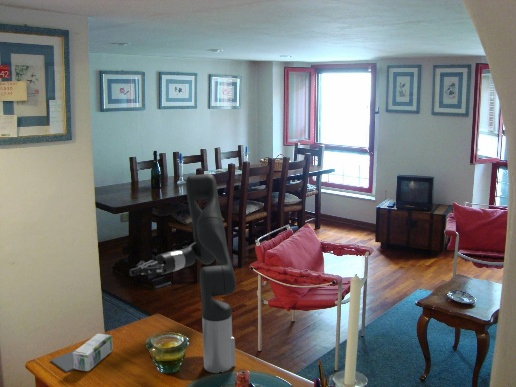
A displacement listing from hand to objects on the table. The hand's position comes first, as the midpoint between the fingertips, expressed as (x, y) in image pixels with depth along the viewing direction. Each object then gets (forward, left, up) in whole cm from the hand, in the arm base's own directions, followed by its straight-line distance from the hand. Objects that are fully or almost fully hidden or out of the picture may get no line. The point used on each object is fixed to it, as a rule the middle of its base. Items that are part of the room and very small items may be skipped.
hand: (130, 273), depth 187 cm
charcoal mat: (+22, +6, -24) cm, 33 cm away
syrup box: (+12, +5, -21) cm, 24 cm away
